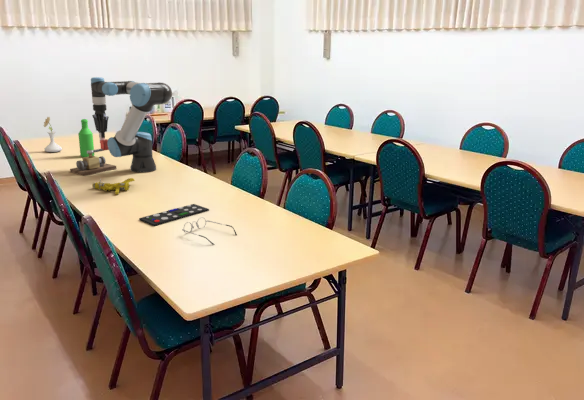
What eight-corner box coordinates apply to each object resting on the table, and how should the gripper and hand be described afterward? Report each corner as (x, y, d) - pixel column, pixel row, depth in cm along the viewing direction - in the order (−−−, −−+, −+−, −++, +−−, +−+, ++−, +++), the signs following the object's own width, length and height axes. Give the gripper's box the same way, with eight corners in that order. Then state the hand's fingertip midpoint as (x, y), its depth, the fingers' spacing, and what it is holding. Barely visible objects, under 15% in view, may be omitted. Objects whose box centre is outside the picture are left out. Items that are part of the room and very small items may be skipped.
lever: (89, 154, 295) (88, 143, 294) (85, 153, 297) (84, 142, 295) (110, 150, 308) (109, 139, 306) (106, 149, 309) (105, 139, 308)
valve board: (116, 169, 308) (115, 151, 305) (84, 175, 291) (83, 157, 287) (101, 165, 316) (100, 148, 312) (70, 172, 298) (68, 154, 295)
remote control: (139, 221, 221) (139, 217, 220) (194, 206, 243) (193, 202, 242) (154, 227, 214) (154, 223, 213) (209, 212, 236) (209, 207, 236)
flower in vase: (45, 150, 355) (41, 114, 348) (63, 149, 358) (59, 114, 351) (43, 154, 343) (38, 117, 336) (61, 153, 347) (57, 117, 339)
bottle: (91, 157, 336) (87, 120, 328) (78, 157, 336) (74, 120, 329) (96, 155, 344) (93, 118, 337) (84, 154, 344) (80, 118, 337)
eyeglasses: (206, 225, 218) (206, 214, 216) (239, 235, 207) (239, 224, 206) (179, 236, 205) (178, 224, 204) (212, 247, 195) (211, 235, 193)
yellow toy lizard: (84, 193, 257) (121, 194, 255) (83, 181, 256) (120, 182, 254) (104, 186, 279) (139, 187, 277) (104, 174, 278) (138, 175, 275)
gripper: (111, 104, 299) (114, 143, 306) (98, 102, 306) (101, 140, 313) (100, 105, 293) (103, 145, 300) (87, 103, 300) (90, 142, 307)
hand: (102, 142), depth 307 cm, fingers closed
